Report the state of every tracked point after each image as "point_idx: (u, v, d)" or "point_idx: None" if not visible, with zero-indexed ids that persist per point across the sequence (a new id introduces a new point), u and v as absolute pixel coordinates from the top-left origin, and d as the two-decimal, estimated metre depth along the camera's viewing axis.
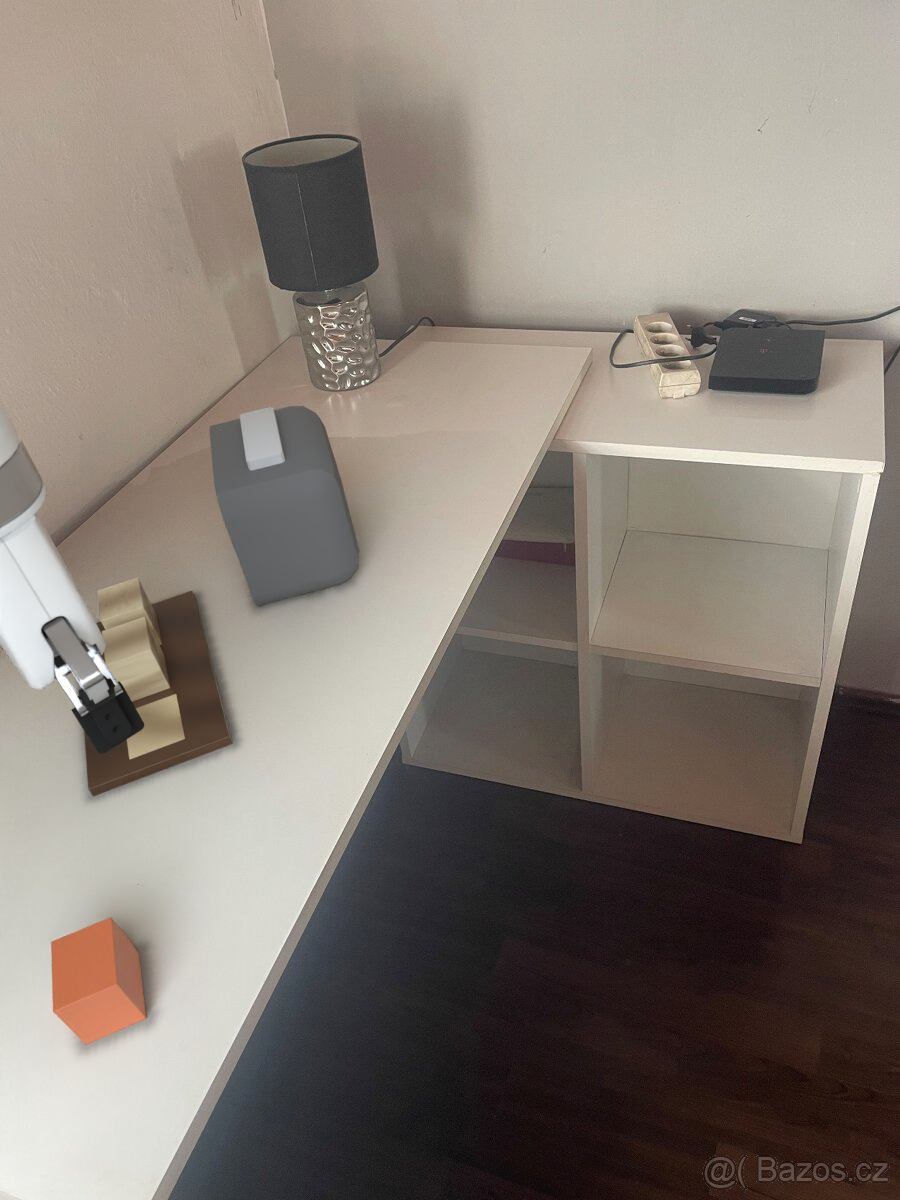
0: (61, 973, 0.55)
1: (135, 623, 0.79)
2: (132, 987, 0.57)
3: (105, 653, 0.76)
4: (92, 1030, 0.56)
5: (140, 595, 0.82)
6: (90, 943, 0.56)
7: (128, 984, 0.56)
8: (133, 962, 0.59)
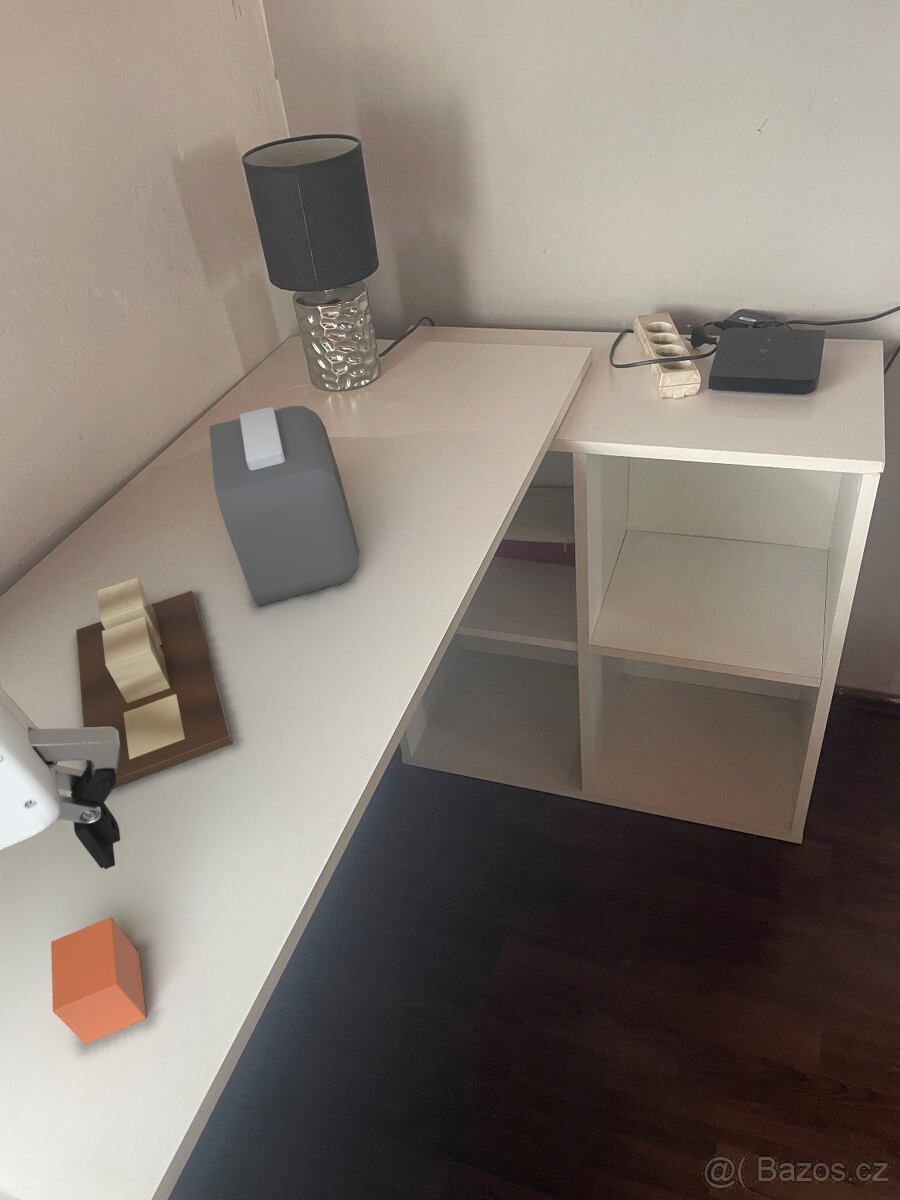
0: (61, 973, 0.55)
1: (135, 623, 0.79)
2: (132, 987, 0.57)
3: (105, 653, 0.76)
4: (92, 1030, 0.56)
5: (140, 595, 0.82)
6: (90, 943, 0.56)
7: (128, 984, 0.56)
8: (133, 962, 0.59)
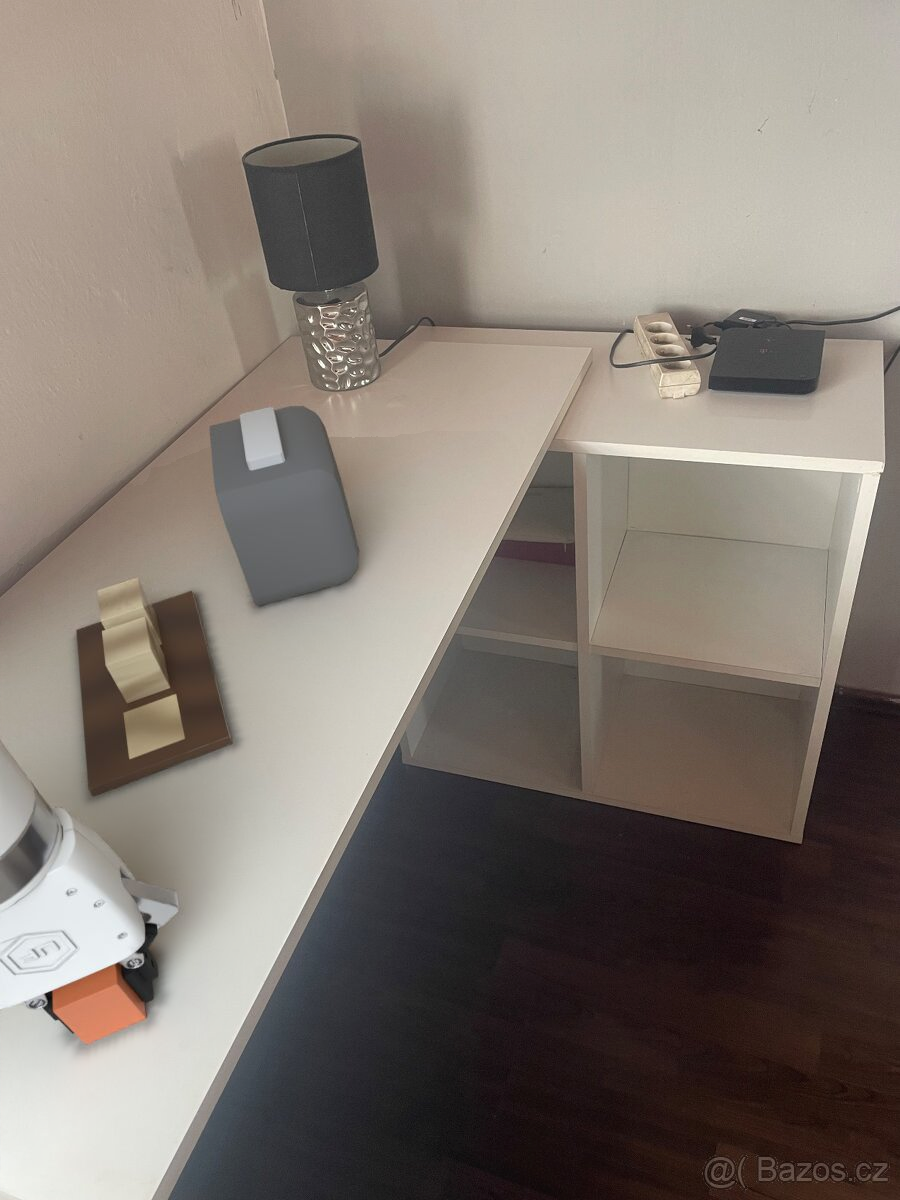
0: None
1: (135, 623, 0.79)
2: None
3: (105, 653, 0.76)
4: (92, 1030, 0.56)
5: (140, 595, 0.82)
6: None
7: None
8: None
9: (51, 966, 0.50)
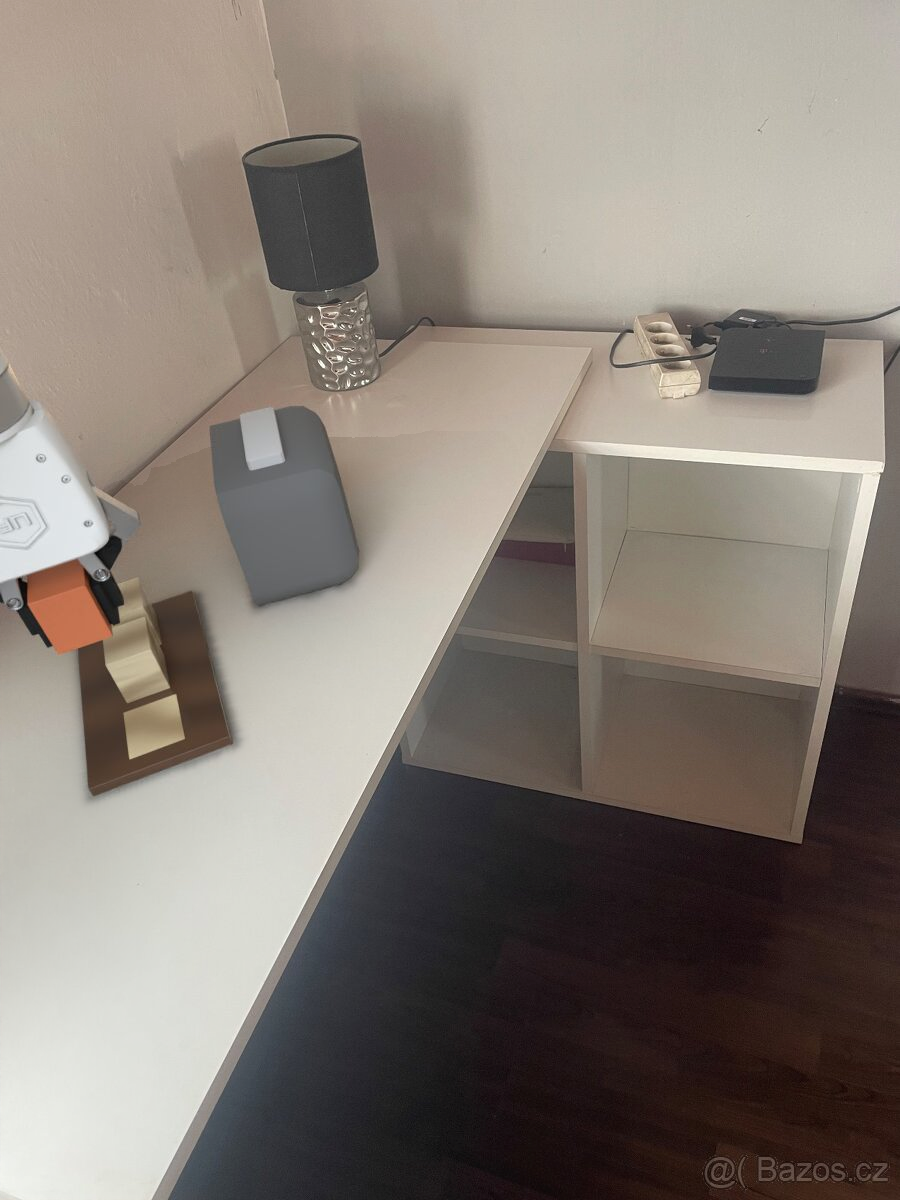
0: (35, 582, 0.62)
1: (135, 623, 0.79)
2: None
3: (105, 653, 0.76)
4: (64, 638, 0.62)
5: (140, 595, 0.82)
6: None
7: None
8: None
9: (24, 543, 0.57)
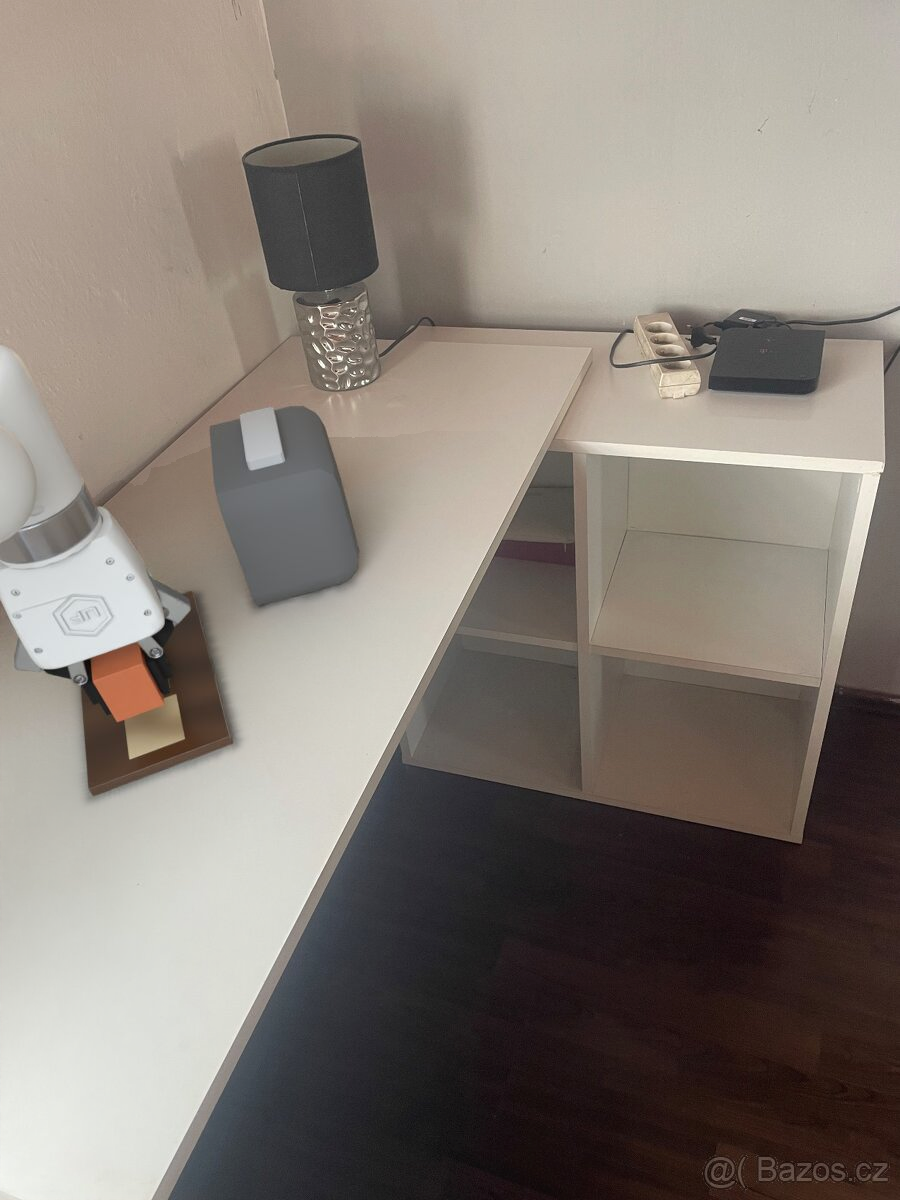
0: (98, 659, 0.70)
1: None
2: None
3: None
4: (122, 708, 0.71)
5: None
6: None
7: None
8: None
9: (93, 631, 0.65)
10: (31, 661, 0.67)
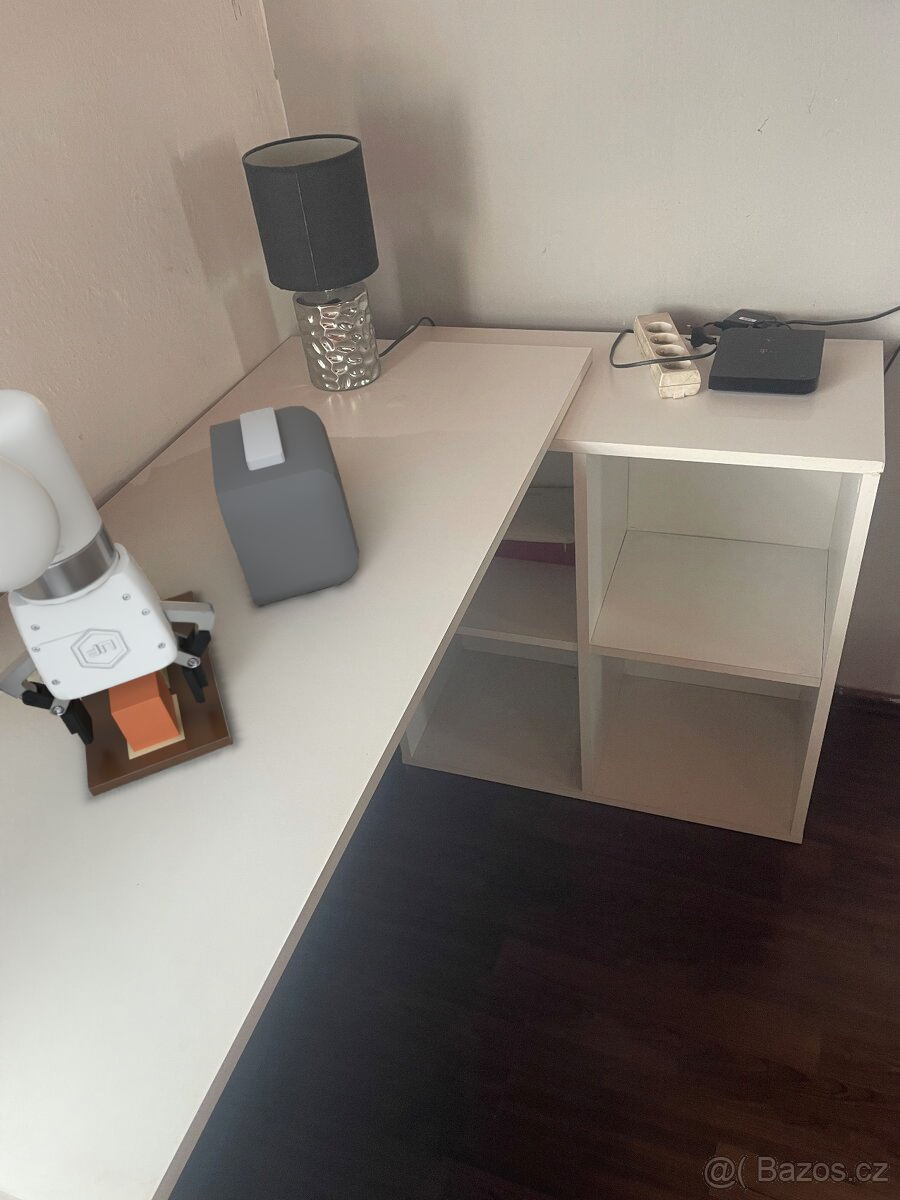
0: (116, 692, 0.72)
1: None
2: (169, 708, 0.74)
3: None
4: (139, 738, 0.73)
5: None
6: None
7: (166, 704, 0.73)
8: (169, 697, 0.76)
9: (108, 664, 0.67)
10: (16, 686, 0.68)
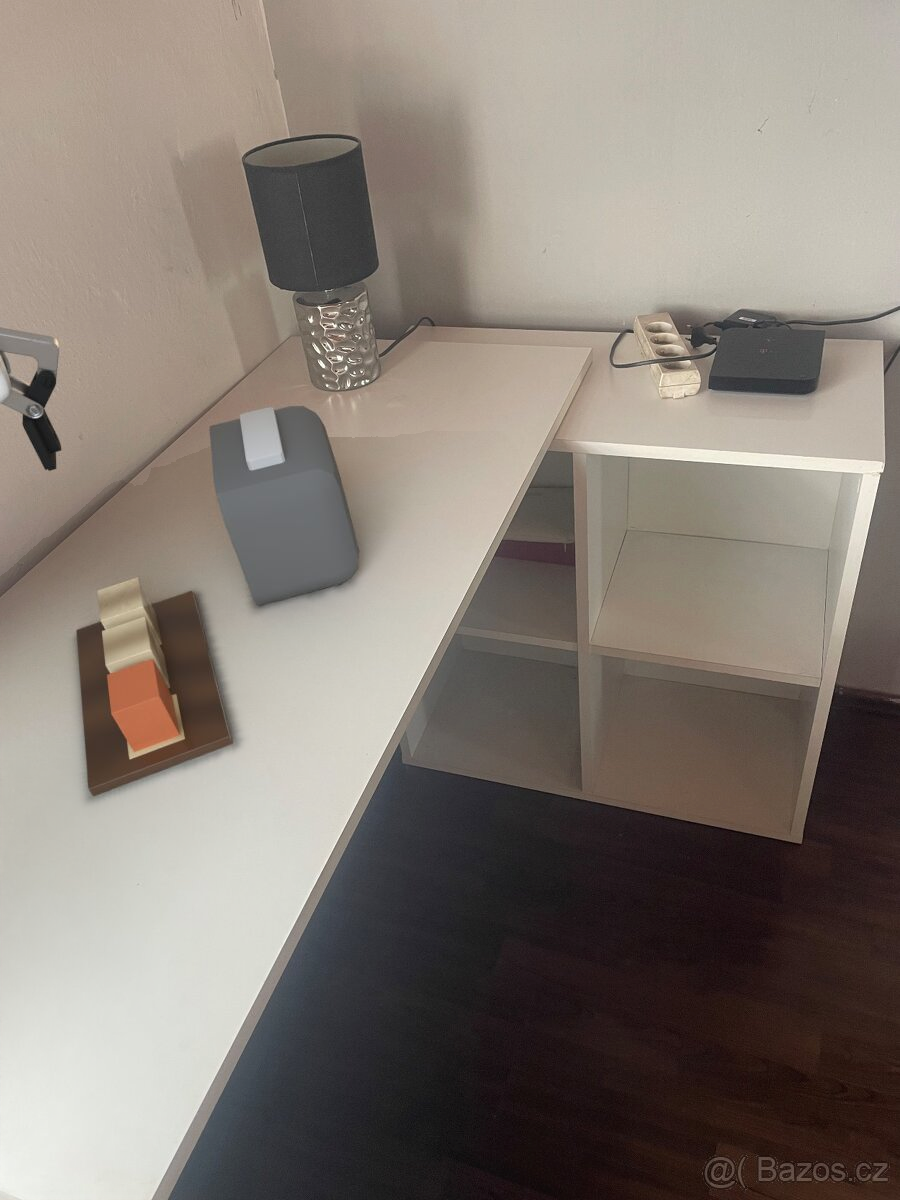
0: (116, 692, 0.72)
1: (135, 623, 0.79)
2: (169, 708, 0.74)
3: (105, 653, 0.76)
4: (139, 738, 0.73)
5: (140, 595, 0.82)
6: (137, 674, 0.74)
7: (166, 704, 0.73)
8: (169, 697, 0.76)
9: None
10: None
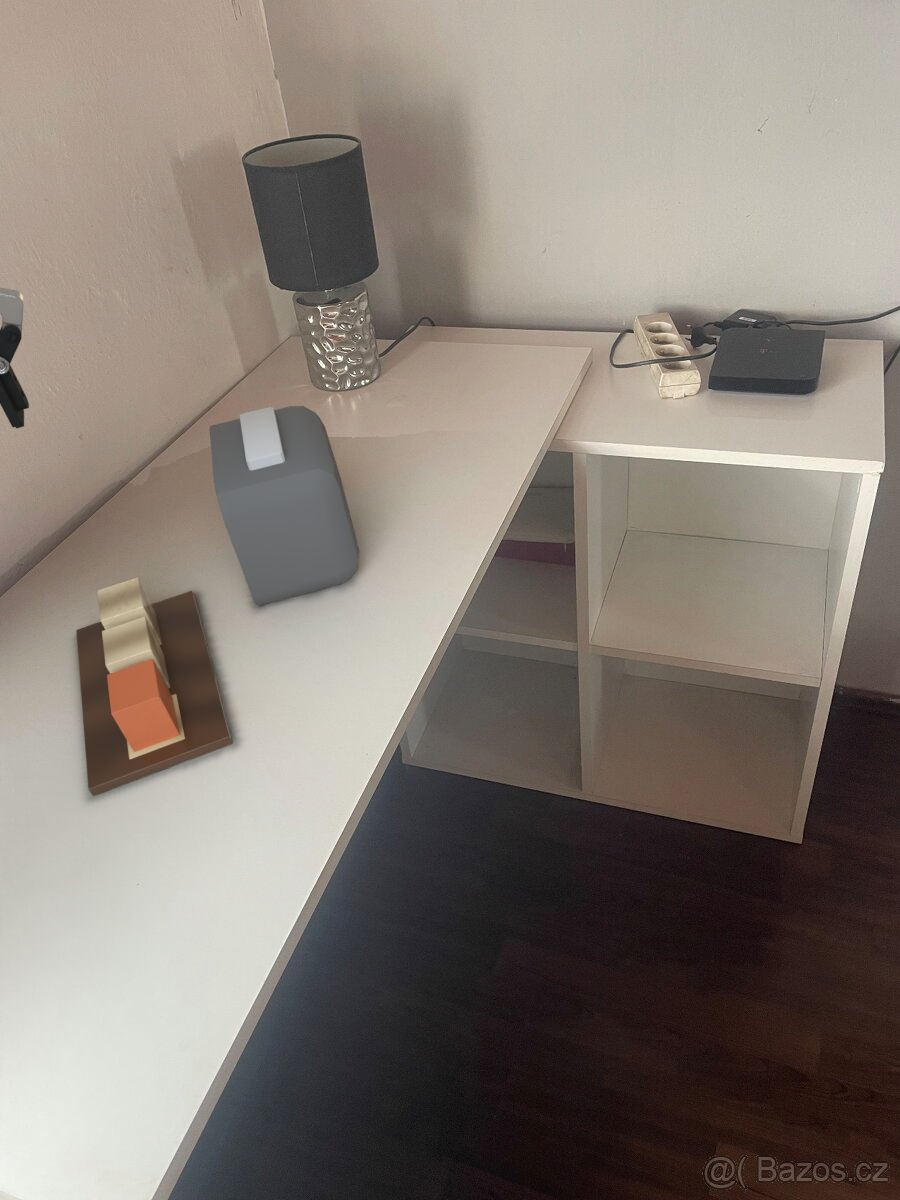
0: (116, 692, 0.72)
1: (135, 623, 0.79)
2: (169, 708, 0.74)
3: (105, 653, 0.76)
4: (139, 738, 0.73)
5: (140, 595, 0.82)
6: (137, 674, 0.74)
7: (166, 704, 0.73)
8: (169, 697, 0.76)
9: None
10: None
